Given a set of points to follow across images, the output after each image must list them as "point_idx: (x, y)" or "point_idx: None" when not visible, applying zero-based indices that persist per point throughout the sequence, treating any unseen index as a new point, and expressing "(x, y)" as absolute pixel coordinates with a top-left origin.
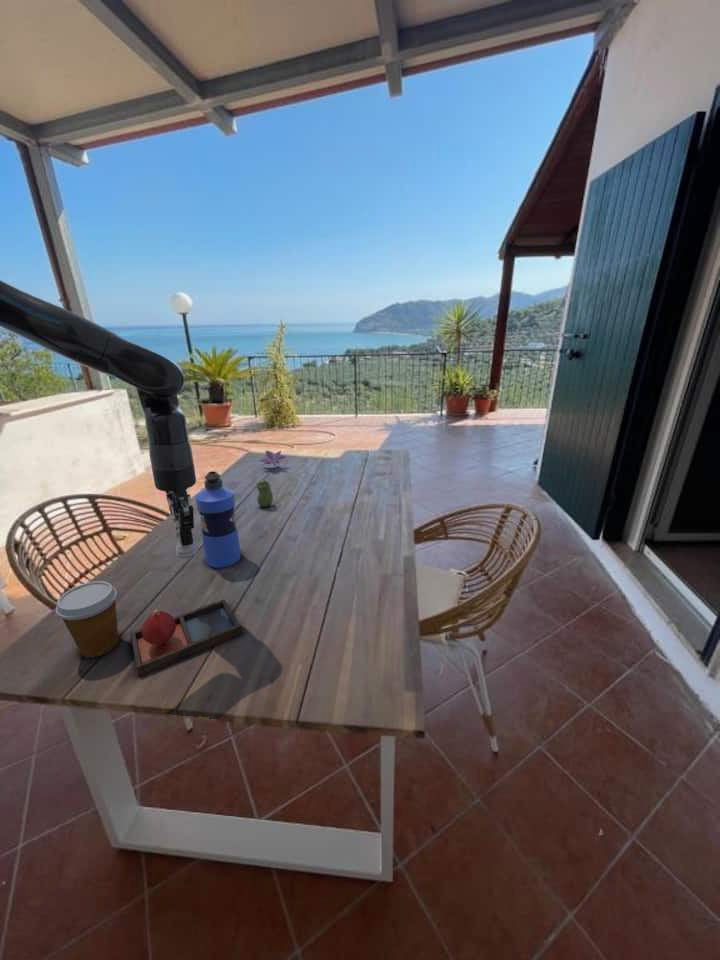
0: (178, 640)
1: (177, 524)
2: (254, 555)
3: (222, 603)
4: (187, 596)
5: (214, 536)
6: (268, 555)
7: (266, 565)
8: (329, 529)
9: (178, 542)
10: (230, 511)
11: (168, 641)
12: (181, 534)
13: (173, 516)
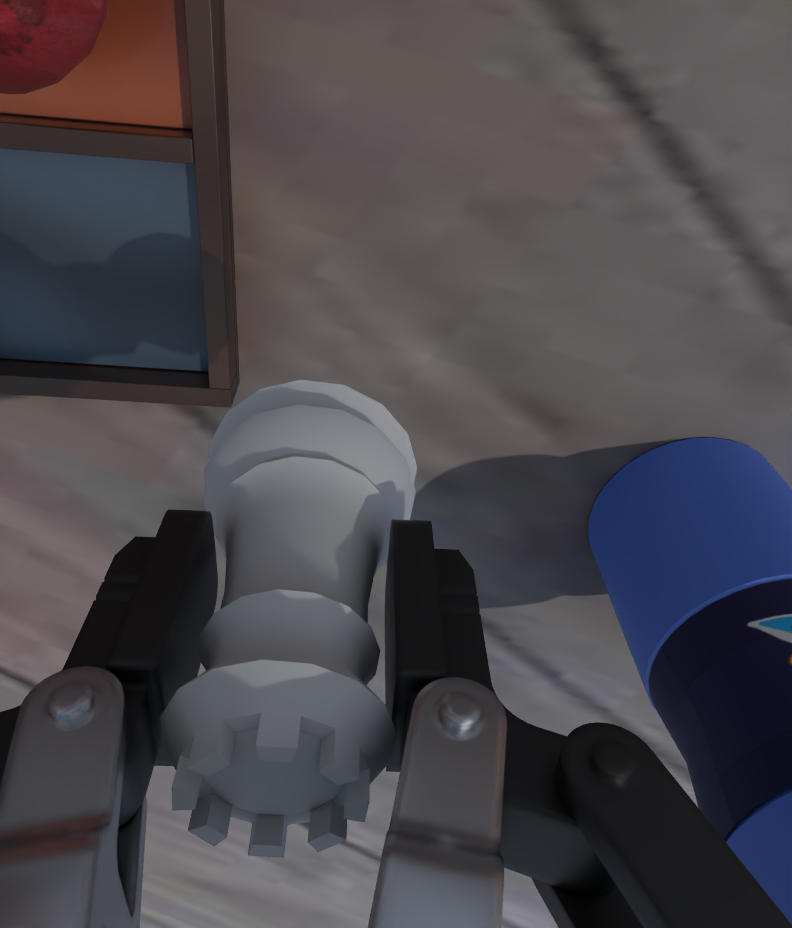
0: None
1: (213, 716)
2: (582, 627)
3: (203, 385)
4: (470, 249)
5: (693, 621)
6: (529, 667)
7: None
8: None
9: (290, 494)
10: None
11: None
12: (128, 624)
13: (51, 888)
